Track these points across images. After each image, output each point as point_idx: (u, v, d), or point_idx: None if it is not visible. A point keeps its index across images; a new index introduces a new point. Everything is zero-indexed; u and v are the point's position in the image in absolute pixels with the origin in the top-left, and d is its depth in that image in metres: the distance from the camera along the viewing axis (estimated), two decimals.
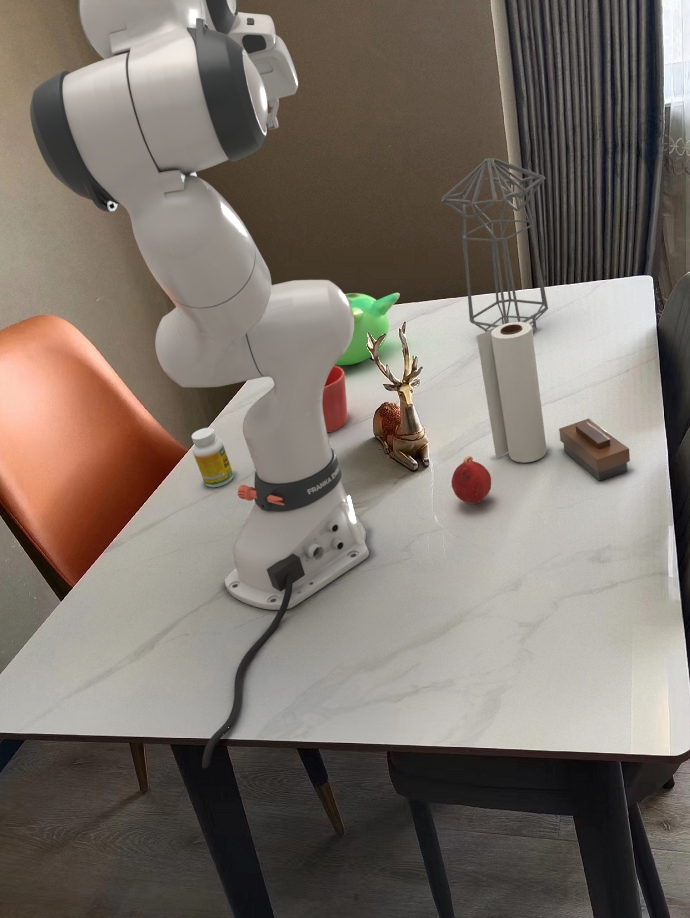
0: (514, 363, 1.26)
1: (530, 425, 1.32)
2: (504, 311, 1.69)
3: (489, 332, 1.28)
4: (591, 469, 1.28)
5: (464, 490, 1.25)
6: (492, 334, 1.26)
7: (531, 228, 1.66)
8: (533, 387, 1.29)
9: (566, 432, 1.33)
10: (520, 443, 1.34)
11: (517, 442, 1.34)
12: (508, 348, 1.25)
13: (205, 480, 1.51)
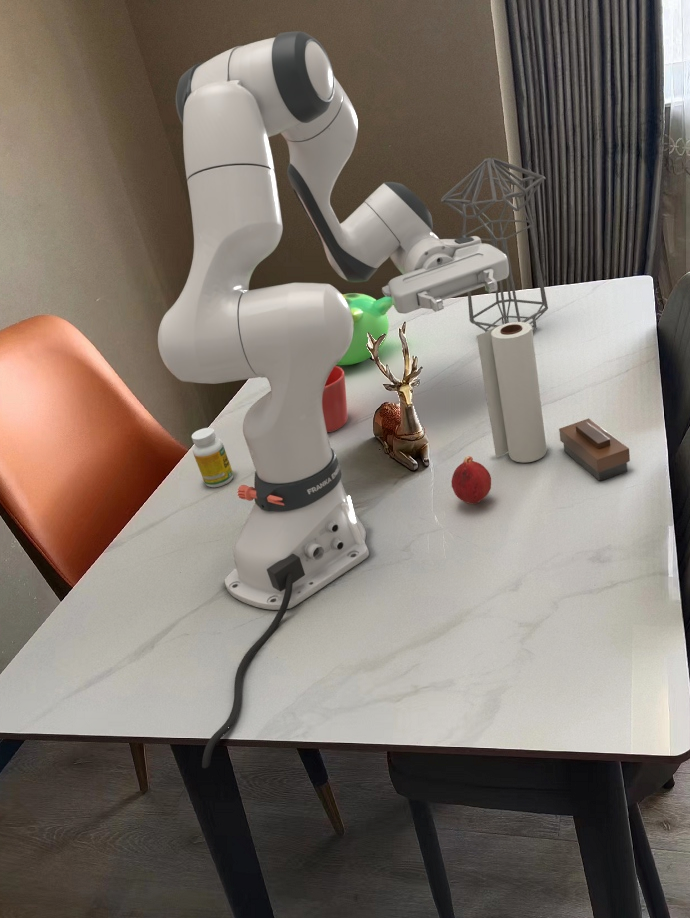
0: (514, 363, 1.26)
1: (530, 425, 1.32)
2: (504, 311, 1.69)
3: (489, 332, 1.28)
4: (591, 469, 1.28)
5: (464, 490, 1.25)
6: (492, 334, 1.26)
7: (531, 228, 1.66)
8: (533, 387, 1.29)
9: (566, 432, 1.33)
10: (520, 443, 1.34)
11: (517, 442, 1.34)
12: (508, 348, 1.25)
13: (205, 480, 1.51)
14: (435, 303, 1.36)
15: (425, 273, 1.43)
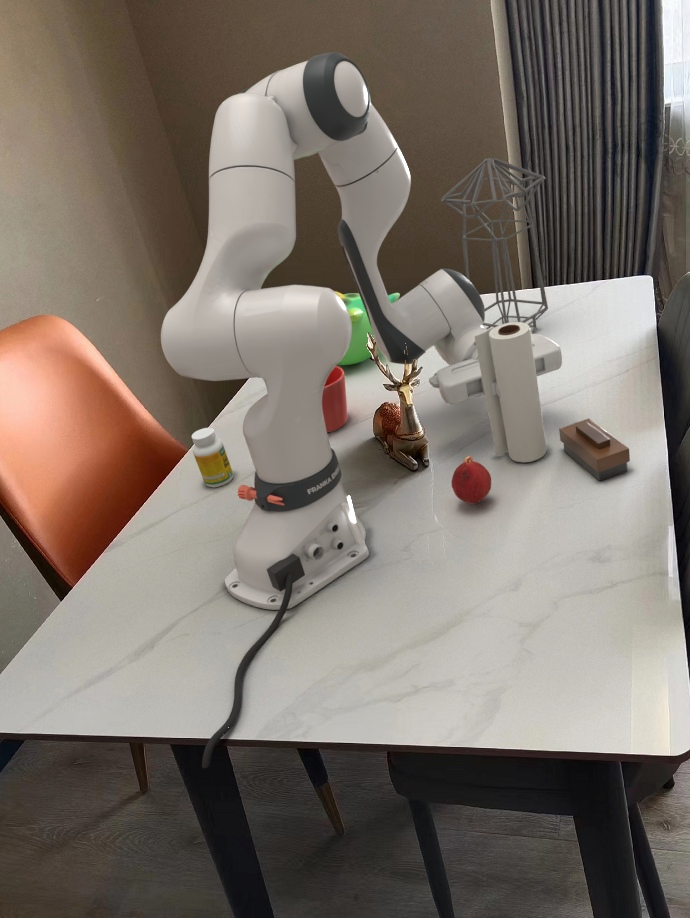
0: (512, 363, 1.26)
1: (529, 425, 1.32)
2: (504, 311, 1.69)
3: (487, 332, 1.28)
4: (591, 469, 1.28)
5: (464, 490, 1.25)
6: (490, 335, 1.26)
7: (531, 228, 1.66)
8: (531, 387, 1.29)
9: (566, 432, 1.33)
10: (520, 443, 1.34)
11: (517, 442, 1.34)
12: (506, 349, 1.25)
13: (205, 480, 1.51)
14: None
15: (474, 363, 1.38)
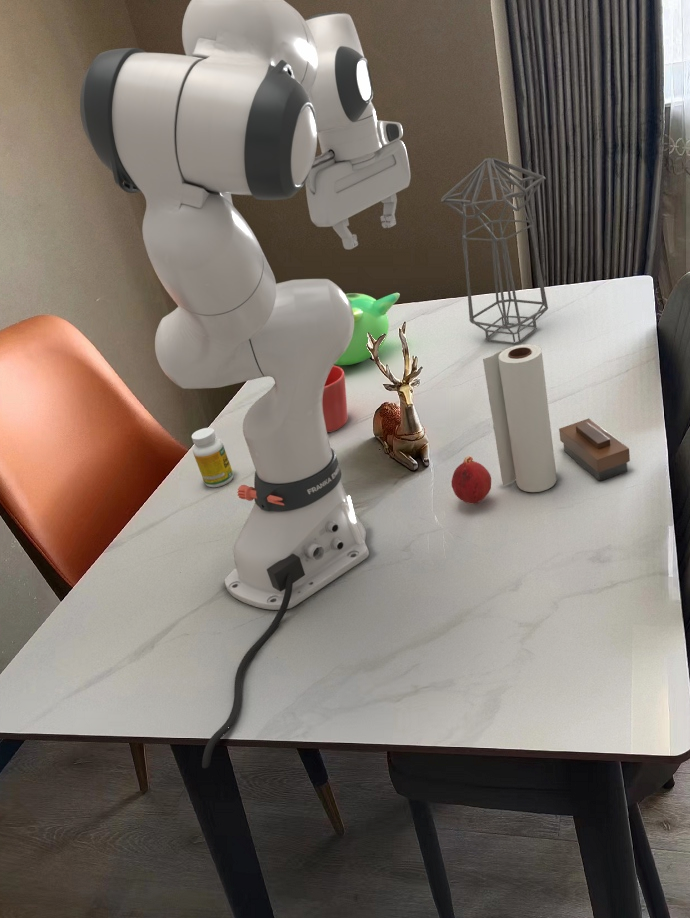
0: (523, 389, 1.18)
1: (539, 453, 1.24)
2: (504, 311, 1.69)
3: (496, 355, 1.21)
4: (591, 469, 1.28)
5: (464, 490, 1.25)
6: (499, 358, 1.19)
7: (531, 228, 1.66)
8: (543, 414, 1.21)
9: (566, 432, 1.33)
10: (529, 472, 1.26)
11: (526, 471, 1.26)
12: (517, 373, 1.17)
13: (205, 480, 1.51)
14: (352, 248, 1.28)
15: (351, 175, 1.24)
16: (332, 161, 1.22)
